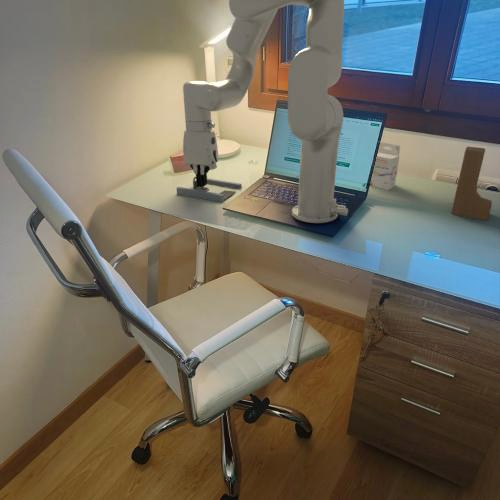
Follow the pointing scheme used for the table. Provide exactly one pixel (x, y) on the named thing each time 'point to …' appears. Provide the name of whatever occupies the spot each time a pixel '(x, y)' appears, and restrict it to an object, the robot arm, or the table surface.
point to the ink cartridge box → (385, 166)
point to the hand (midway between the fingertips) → (201, 185)
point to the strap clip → (199, 187)
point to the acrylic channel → (210, 195)
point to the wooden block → (471, 187)
